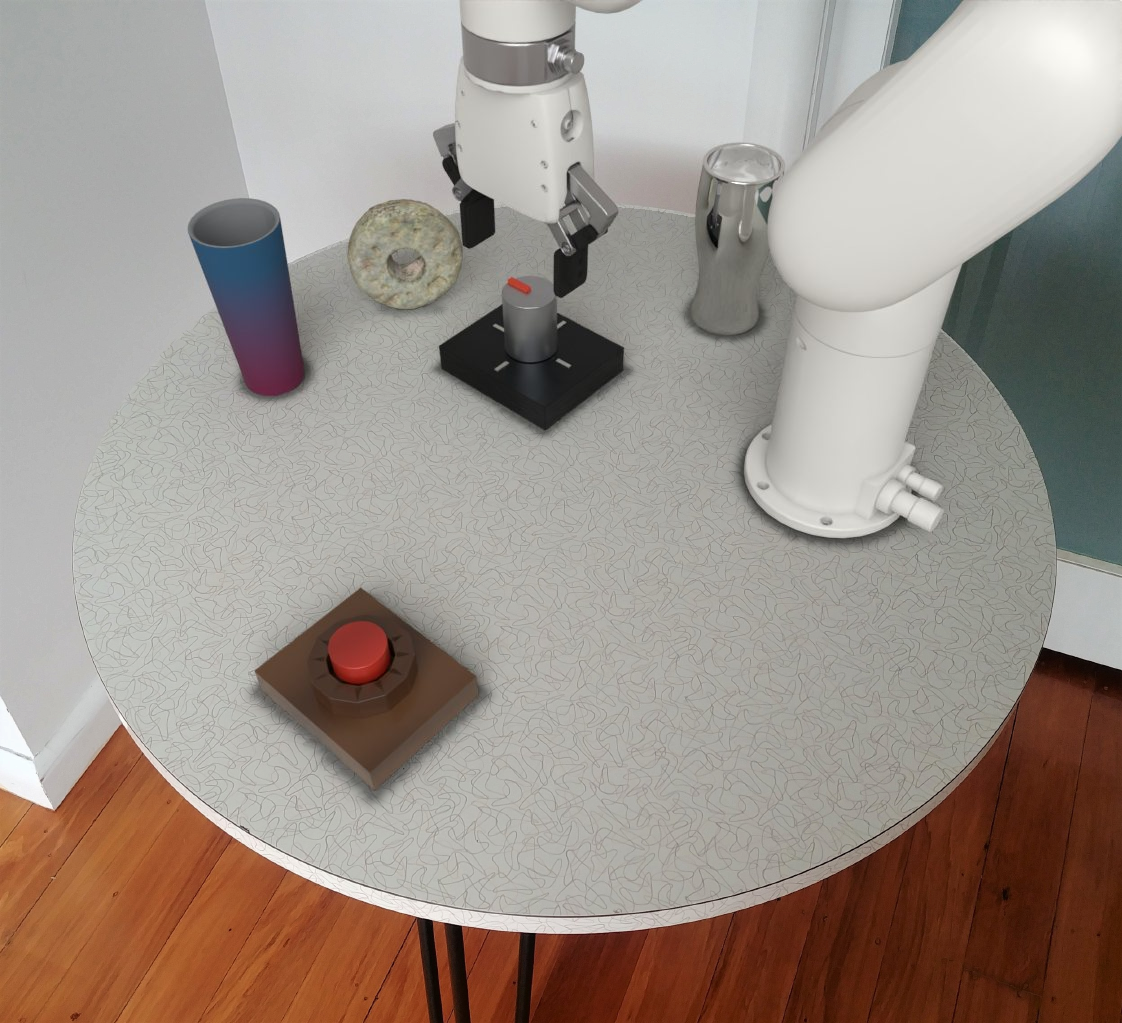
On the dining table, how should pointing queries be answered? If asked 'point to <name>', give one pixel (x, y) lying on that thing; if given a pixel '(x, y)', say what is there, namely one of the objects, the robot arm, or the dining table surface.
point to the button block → (369, 691)
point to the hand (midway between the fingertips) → (523, 264)
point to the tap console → (532, 368)
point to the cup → (251, 290)
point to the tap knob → (529, 318)
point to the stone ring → (398, 230)
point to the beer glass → (733, 234)
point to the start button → (359, 652)
